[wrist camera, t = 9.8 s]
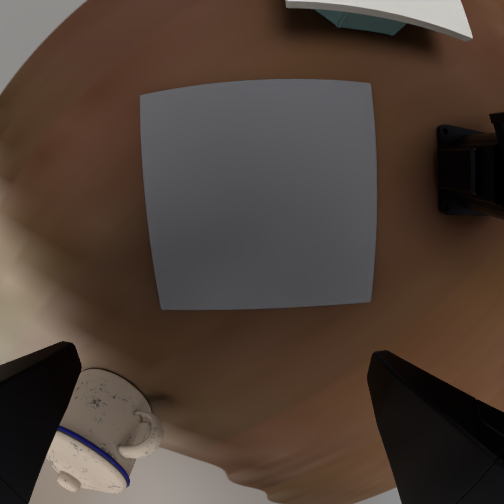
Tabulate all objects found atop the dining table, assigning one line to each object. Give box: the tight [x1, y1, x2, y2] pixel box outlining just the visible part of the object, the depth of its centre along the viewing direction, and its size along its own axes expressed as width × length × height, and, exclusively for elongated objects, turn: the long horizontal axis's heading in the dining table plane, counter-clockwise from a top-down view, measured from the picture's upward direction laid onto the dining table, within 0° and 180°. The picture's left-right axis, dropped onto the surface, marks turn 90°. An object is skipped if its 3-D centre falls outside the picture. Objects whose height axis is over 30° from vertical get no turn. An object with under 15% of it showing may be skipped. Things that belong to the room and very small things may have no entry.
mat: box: [140, 79, 377, 310], centre depth 18 cm, size 15×15×1 cm
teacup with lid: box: [46, 369, 163, 493], centre depth 18 cm, size 12×9×12 cm
